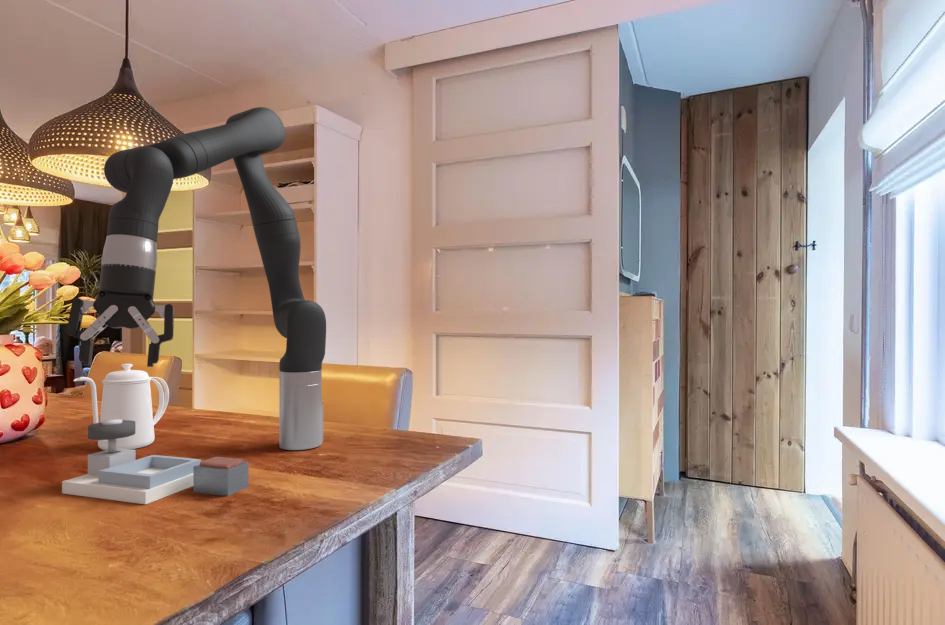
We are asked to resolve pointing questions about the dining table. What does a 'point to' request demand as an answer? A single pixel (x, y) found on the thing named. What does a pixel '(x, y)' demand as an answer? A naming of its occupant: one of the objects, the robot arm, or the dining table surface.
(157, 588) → the dining table surface
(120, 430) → the wheel
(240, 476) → the copper topped block
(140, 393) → the coffeepot
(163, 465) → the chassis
